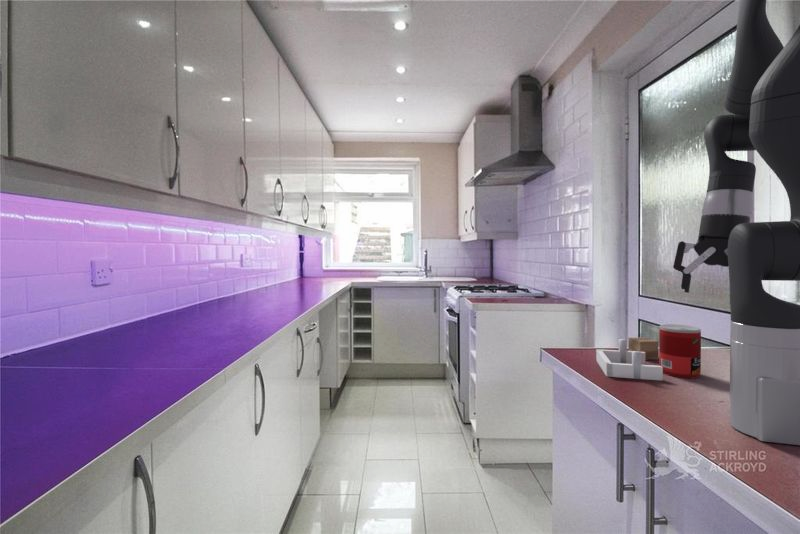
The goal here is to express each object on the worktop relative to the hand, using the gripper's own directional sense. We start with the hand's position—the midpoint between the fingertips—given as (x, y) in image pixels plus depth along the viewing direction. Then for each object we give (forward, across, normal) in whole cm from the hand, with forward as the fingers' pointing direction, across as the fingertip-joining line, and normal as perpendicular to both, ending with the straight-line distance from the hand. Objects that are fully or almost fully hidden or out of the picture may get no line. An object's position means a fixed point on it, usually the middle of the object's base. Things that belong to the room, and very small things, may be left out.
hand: (713, 295), depth 77 cm
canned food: (+20, -4, +14) cm, 24 cm away
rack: (+21, -14, +11) cm, 27 cm away
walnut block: (+19, -12, +26) cm, 35 cm away
